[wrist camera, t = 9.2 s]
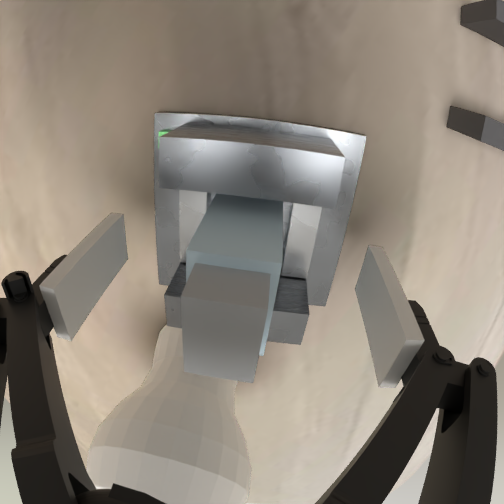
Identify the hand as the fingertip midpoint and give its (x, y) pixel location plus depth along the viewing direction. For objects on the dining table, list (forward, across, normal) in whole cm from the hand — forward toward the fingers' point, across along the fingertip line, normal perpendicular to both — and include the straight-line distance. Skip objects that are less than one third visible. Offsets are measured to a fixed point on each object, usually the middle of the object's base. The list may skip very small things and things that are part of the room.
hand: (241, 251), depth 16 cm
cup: (+5, -3, -13) cm, 14 cm away
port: (+5, 0, 0) cm, 5 cm away
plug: (+4, 0, 0) cm, 4 cm away
